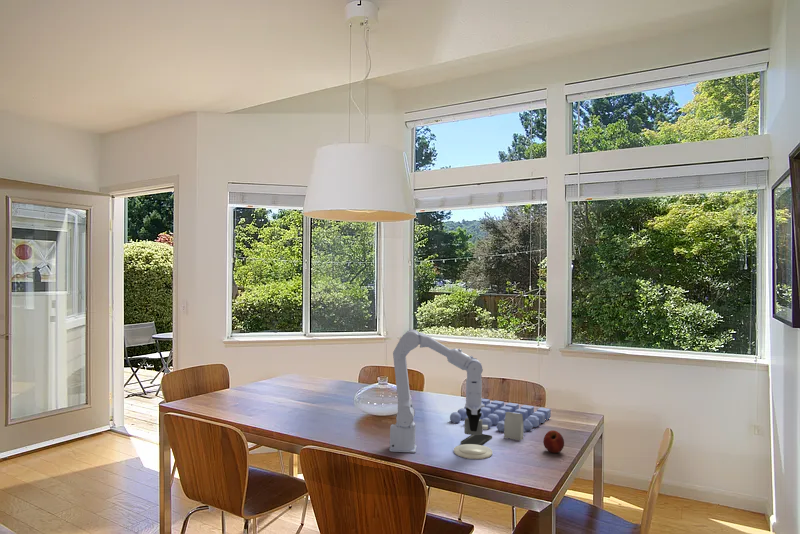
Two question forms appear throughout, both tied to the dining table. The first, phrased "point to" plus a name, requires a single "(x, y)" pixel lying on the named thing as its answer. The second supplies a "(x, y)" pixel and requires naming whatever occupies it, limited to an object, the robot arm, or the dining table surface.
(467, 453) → the plate
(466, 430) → the connector
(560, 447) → the apple
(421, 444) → the dining table surface
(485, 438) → the phone
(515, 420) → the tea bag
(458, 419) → the blocks
